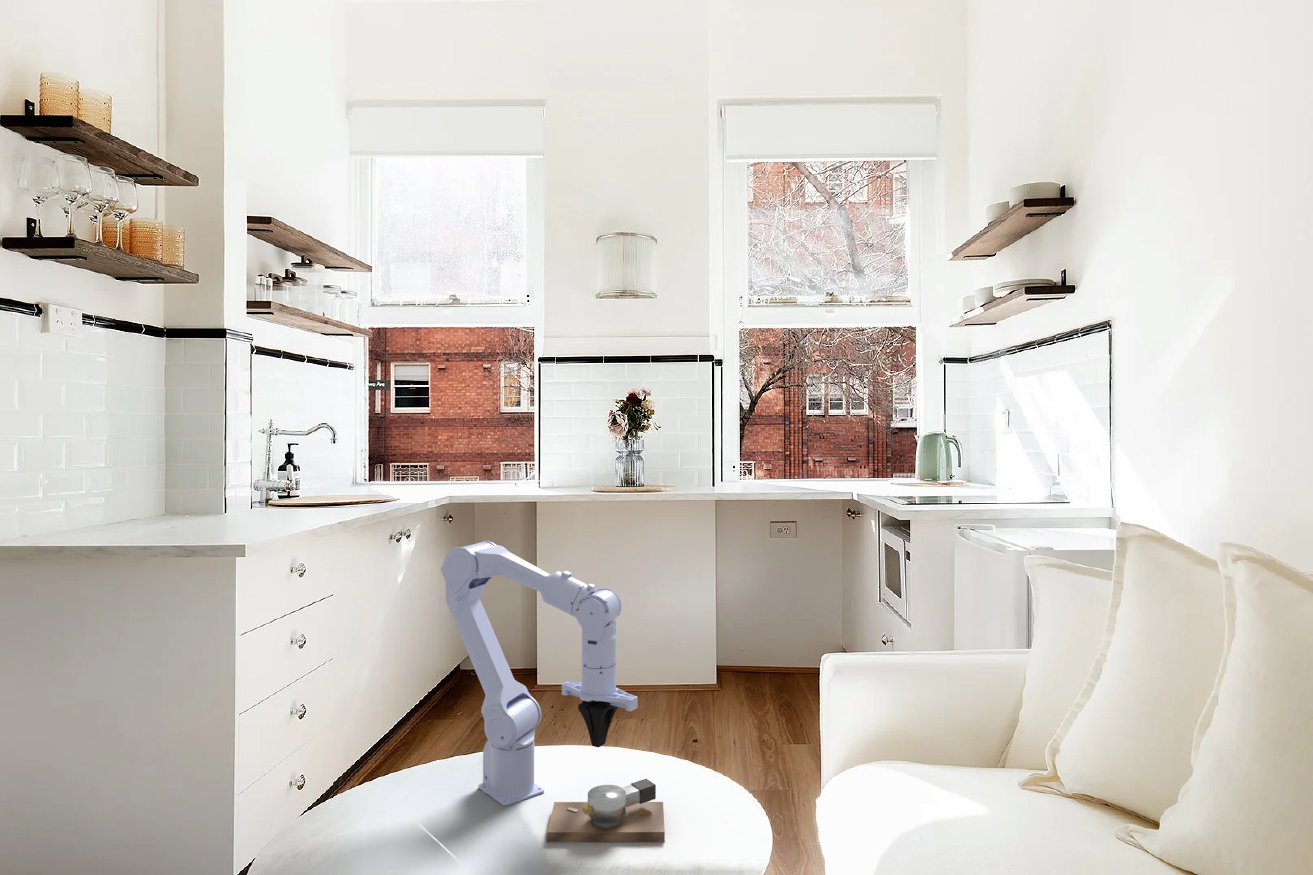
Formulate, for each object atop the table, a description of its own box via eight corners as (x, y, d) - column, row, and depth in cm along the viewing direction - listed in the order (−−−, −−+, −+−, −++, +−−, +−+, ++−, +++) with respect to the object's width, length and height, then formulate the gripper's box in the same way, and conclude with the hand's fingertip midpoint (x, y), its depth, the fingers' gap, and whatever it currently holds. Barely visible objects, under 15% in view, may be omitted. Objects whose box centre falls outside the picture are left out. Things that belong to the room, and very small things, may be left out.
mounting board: (554, 810, 126) (554, 795, 126) (663, 810, 127) (663, 795, 127) (546, 841, 117) (547, 825, 117) (664, 841, 117) (664, 825, 117)
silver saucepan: (594, 828, 116) (594, 808, 116) (574, 811, 121) (574, 793, 120) (661, 804, 123) (661, 786, 123) (640, 790, 128) (640, 772, 128)
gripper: (550, 662, 129) (549, 742, 129) (620, 677, 121) (619, 763, 121) (576, 652, 134) (576, 729, 134) (645, 666, 127) (644, 748, 127)
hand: (598, 744), depth 128 cm, fingers closed
